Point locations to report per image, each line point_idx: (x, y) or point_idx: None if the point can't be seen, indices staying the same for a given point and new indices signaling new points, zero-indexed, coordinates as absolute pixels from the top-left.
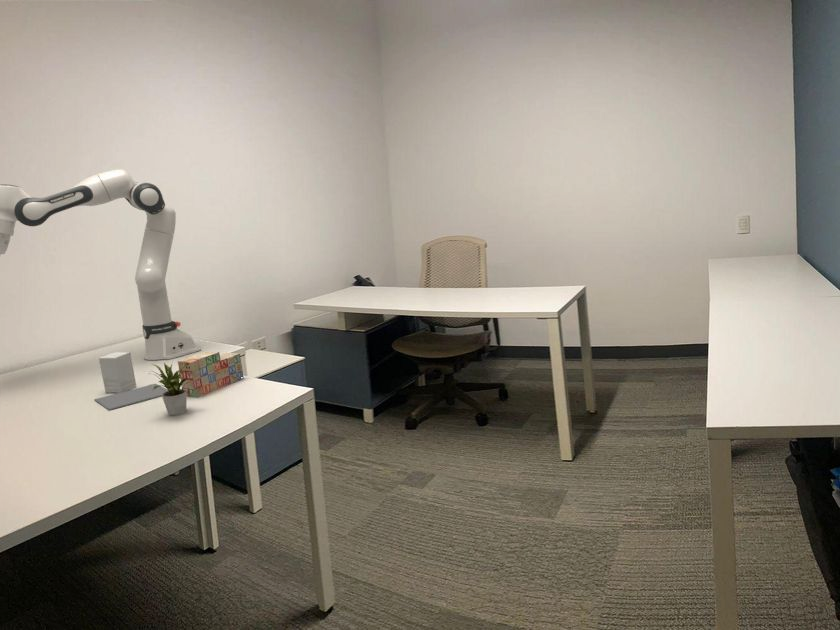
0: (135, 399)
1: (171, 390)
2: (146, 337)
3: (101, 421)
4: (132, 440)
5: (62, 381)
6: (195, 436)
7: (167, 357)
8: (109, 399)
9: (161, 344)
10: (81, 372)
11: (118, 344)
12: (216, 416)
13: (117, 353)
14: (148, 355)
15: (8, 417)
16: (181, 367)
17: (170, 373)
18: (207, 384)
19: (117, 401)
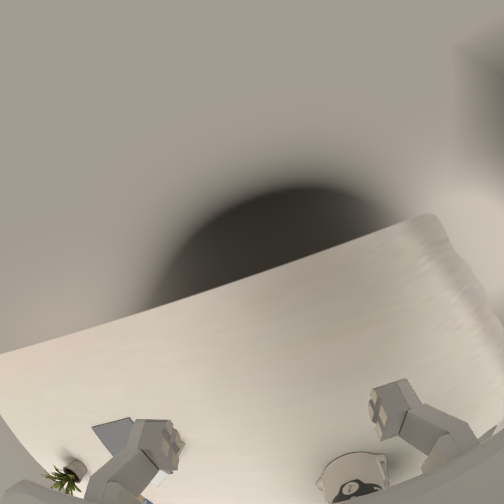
0: (115, 450)
1: (63, 474)
2: (343, 486)
3: (67, 417)
4: (35, 428)
5: (264, 363)
6: (41, 457)
7: (317, 483)
8: (122, 431)
9: (325, 492)
10: (317, 379)
11: (494, 368)
12: None
13: (155, 476)
14: (335, 465)
15: (96, 327)
16: (72, 494)
17: (59, 483)
18: None
19: (113, 437)
